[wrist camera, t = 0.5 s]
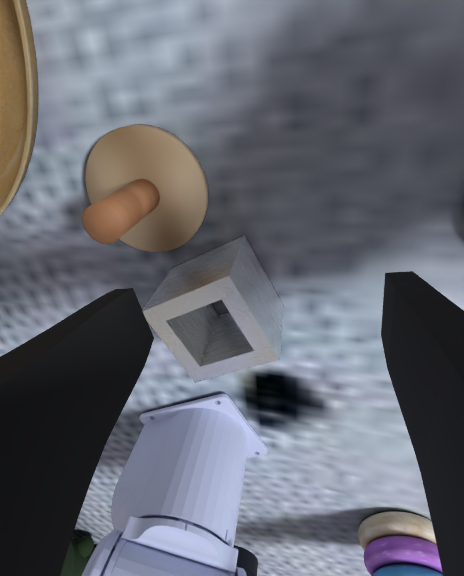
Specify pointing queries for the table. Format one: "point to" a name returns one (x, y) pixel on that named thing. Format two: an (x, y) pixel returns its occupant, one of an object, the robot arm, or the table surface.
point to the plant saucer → (16, 97)
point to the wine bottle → (247, 561)
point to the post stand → (144, 189)
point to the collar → (207, 323)
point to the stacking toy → (399, 545)
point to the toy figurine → (77, 556)
